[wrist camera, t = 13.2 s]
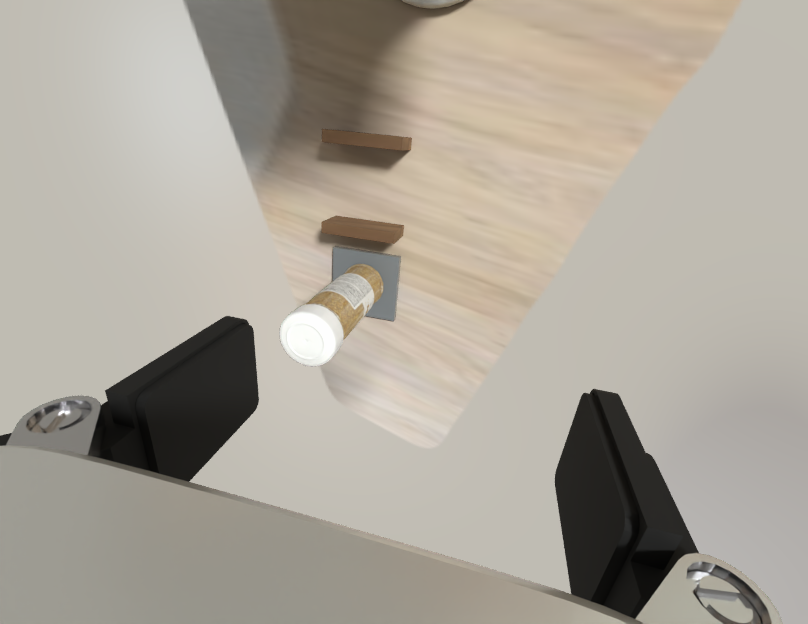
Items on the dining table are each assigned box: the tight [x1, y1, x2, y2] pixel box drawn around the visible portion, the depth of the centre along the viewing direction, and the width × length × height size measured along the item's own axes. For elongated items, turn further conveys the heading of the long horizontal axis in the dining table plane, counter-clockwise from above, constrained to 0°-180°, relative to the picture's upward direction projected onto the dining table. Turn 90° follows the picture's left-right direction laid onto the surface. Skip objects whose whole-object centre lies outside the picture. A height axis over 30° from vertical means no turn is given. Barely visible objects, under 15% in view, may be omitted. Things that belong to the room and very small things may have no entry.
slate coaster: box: [333, 246, 401, 321], centre depth 41 cm, size 7×7×1 cm
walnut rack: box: [322, 129, 412, 244], centre depth 36 cm, size 9×7×4 cm
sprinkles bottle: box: [279, 264, 383, 366], centre depth 35 cm, size 5×5×14 cm
